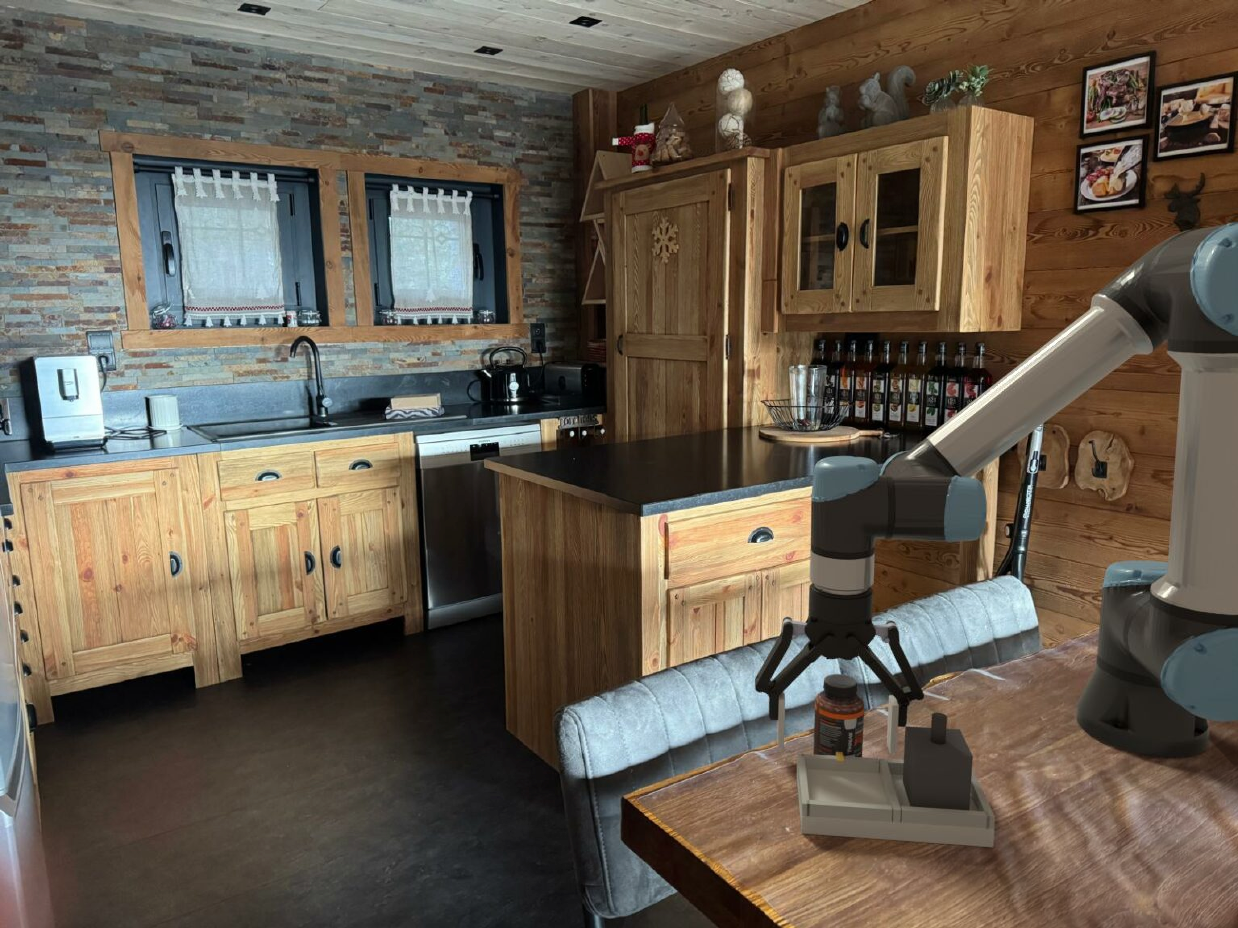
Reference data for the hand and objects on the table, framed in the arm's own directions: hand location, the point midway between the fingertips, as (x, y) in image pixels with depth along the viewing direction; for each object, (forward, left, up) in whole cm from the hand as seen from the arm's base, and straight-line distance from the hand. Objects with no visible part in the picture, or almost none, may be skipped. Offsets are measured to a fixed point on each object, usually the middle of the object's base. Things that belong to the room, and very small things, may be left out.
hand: (835, 745), depth 109 cm
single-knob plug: (-10, +10, 0) cm, 14 cm away
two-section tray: (-5, +10, -2) cm, 11 cm away
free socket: (0, +10, 0) cm, 10 cm away
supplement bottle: (0, 0, -2) cm, 3 cm away
